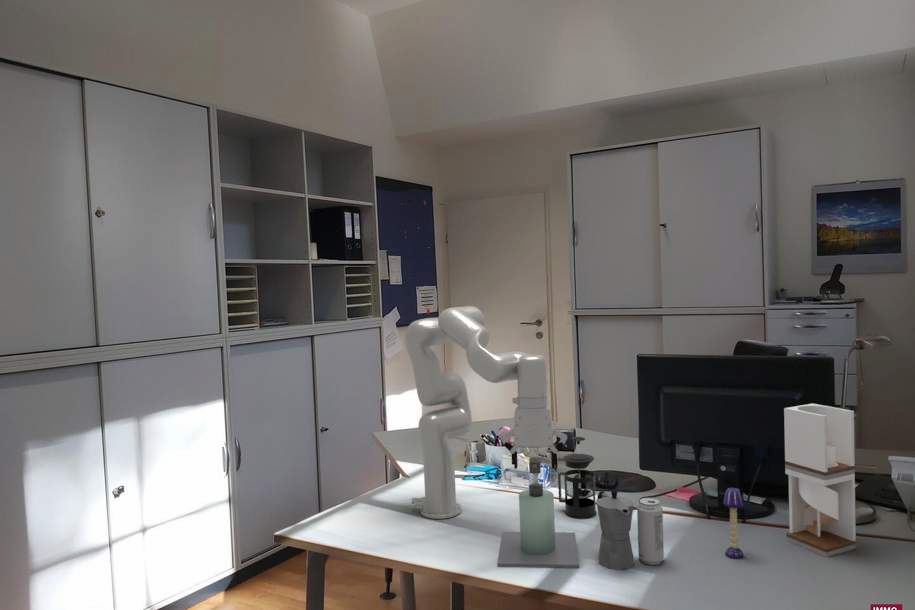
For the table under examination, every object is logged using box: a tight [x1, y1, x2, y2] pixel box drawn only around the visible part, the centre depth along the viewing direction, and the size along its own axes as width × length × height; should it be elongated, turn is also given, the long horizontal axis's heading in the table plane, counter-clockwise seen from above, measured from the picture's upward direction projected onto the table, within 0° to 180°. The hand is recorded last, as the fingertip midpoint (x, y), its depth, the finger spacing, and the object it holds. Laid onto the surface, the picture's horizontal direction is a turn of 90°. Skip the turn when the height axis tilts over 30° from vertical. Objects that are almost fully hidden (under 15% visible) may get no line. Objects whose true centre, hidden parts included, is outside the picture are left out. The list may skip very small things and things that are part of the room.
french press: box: [557, 436, 598, 520], centre depth 196 cm, size 12×9×23 cm
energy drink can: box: [636, 497, 665, 566], centre depth 162 cm, size 6×6×15 cm
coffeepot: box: [595, 489, 636, 570], centre depth 163 cm, size 15×9×18 cm, turn 13°
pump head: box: [528, 456, 542, 484], centre depth 169 cm, size 3×8×6 cm, turn 172°
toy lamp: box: [723, 487, 744, 560], centre depth 163 cm, size 5×5×17 cm
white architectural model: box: [783, 403, 857, 558], centre depth 167 cm, size 11×11×35 cm
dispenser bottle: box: [496, 482, 580, 569], centre depth 171 cm, size 20×20×17 cm
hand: (534, 467), depth 170 cm, fingers open, 9 cm apart
